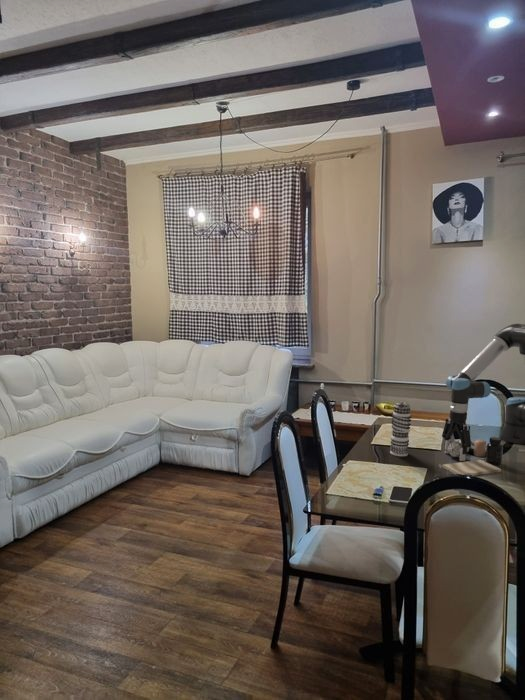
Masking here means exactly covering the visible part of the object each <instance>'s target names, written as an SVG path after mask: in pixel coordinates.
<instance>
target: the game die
mask: <svg viewBox="0 0 525 700" xmlns="http://www.w3.org/2000/svg"><path fill="white" fill-rule="evenodd" d="M457 440H458V439H457ZM458 441H459V440H458ZM458 441H457V442H454V441H452V440H451V441H449V442H450V444H449V446H448V448H447V451H448V452H449V453H448V454H450V456H451V457H452V458H451V459H452V460H453V459H454V458H458V457H459V458H460V449H461V447H462V445H461V443H459V442H458ZM445 451H446V450H445V449H444V452H445Z"/></svg>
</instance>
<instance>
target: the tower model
mask: <svg viewBox="0 0 525 700" xmlns="http://www.w3.org/2000/svg"><path fill="white" fill-rule="evenodd" d="M411 408H412V406H411V405H410V404H409V403H408V402H405V401H398V402H396V403H394V404H393V412H392V414H391V430H392V433H391V438H390V448H389V450H390V451H389V453H390V455H393V456H396V457H407V456H408V455H409V449H410V448H409V445H410V444H409V443H410V440H409V437H410V436H409V434H410V433H409V432H411V431H410V430H411V427H410V426H412V424H411V423H410V422H412V420H411V419H412V416H411Z"/></svg>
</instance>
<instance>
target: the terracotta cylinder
mask: <svg viewBox="0 0 525 700" xmlns="http://www.w3.org/2000/svg"><path fill="white" fill-rule="evenodd" d="M486 448H487V441H485V440H484V439H483V440H482V439H474V447H473V455H474V456H475V457H480V458H486Z"/></svg>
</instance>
